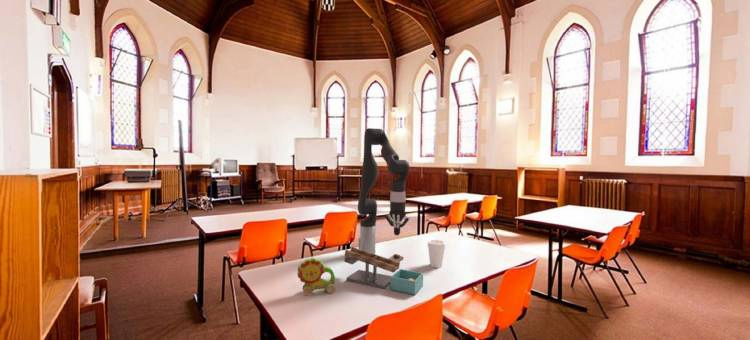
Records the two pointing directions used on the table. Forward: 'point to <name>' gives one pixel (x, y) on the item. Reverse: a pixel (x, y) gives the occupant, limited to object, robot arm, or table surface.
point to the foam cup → (436, 252)
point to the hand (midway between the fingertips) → (397, 235)
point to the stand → (370, 278)
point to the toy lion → (315, 276)
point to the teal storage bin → (407, 282)
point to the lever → (373, 259)
